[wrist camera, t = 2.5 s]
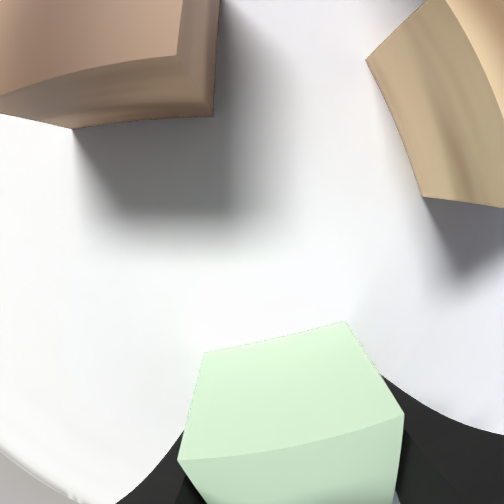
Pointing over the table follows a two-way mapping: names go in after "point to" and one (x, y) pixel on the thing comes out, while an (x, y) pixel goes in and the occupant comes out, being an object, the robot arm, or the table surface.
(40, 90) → the walnut block
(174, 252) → the table surface
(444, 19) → the oak block
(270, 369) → the sage painted block
